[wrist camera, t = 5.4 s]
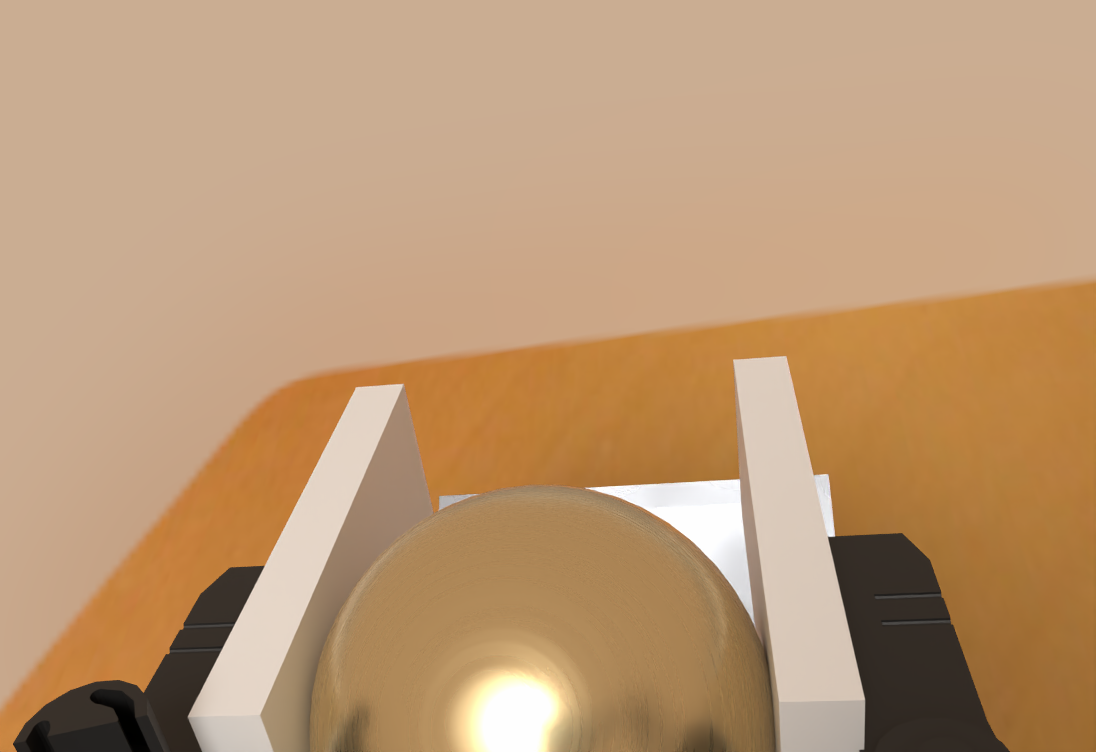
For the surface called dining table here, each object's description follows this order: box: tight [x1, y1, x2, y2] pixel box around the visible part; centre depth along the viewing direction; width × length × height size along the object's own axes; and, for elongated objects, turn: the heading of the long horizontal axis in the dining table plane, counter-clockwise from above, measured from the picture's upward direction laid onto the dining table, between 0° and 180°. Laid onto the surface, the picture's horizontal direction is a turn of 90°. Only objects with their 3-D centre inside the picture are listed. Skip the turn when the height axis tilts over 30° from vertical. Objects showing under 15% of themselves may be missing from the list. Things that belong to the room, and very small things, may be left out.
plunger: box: [309, 485, 776, 752], centre depth 19 cm, size 8×8×22 cm
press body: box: [439, 474, 835, 627], centre depth 32 cm, size 15×10×14 cm
